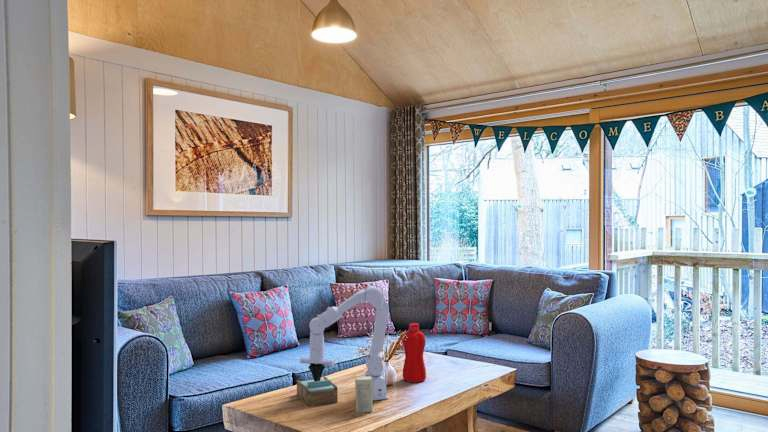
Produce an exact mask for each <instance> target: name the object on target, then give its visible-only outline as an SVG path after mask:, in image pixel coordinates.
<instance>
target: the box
mask: <svg viewBox="0 0 768 432" xmlns="http://www.w3.org/2000/svg"><path fill="white" fill-rule="evenodd" d="M323 379H325V380H330V379H329V378H328V377H326V376H323ZM331 385H332V386H333V387H335V389H332V390H324V391H317V392H309V390H308V389H307V388H306V387H305V386H304V385H303V384H302V383H301V382H300V379H297V380H296V396H297V397H298V398H299V397H300V398H301V399H302V400H303V401H302V400H301V399H300V398H299V399H300V400H301V401H302V402H303V403H304V404H305V405H306V406H307V407H312V405H315V406H321V405H327V404H334V403H335V404H336V403H338V386H337V385H336V384H335V383H333V382H332V381H331Z"/></svg>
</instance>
